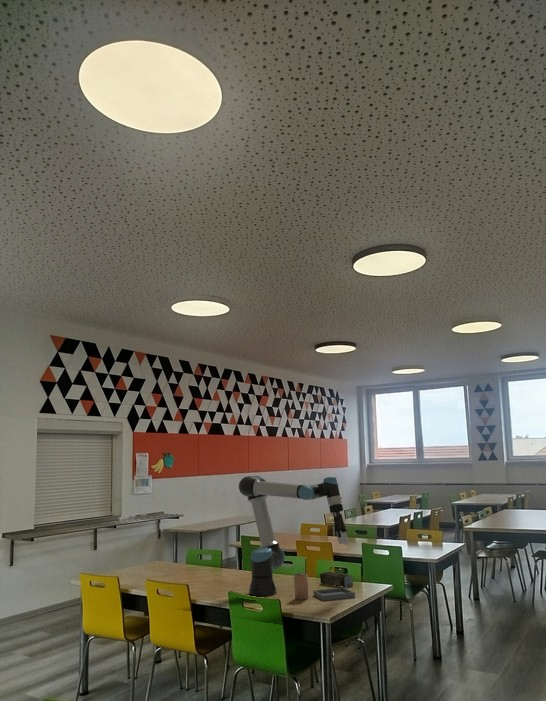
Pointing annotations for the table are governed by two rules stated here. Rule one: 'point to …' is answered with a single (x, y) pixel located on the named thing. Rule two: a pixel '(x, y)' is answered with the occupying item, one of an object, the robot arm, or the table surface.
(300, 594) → the terracotta cup
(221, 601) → the table surface
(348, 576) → the beverage carton
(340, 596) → the grey square tray
